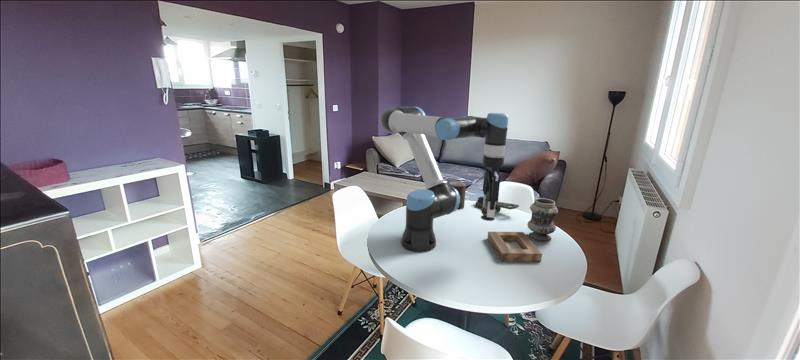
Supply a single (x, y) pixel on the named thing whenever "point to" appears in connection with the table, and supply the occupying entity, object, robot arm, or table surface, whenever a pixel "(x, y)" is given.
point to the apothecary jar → (542, 219)
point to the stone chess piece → (484, 210)
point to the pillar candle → (461, 190)
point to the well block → (514, 246)
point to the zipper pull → (498, 205)
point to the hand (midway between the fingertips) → (488, 213)
